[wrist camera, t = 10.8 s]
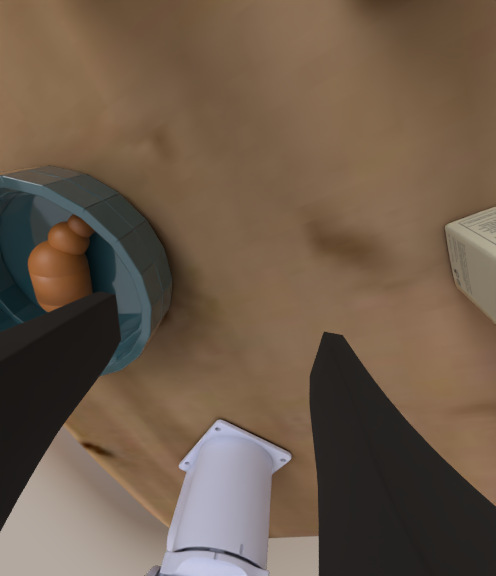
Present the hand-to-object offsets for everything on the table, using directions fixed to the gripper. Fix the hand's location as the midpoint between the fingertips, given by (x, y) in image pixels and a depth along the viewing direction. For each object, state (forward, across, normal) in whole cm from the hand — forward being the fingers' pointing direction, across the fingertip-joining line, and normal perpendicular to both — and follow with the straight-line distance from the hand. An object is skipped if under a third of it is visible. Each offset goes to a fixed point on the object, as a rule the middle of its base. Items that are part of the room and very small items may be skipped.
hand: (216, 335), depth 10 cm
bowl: (+9, +11, +4) cm, 15 cm away
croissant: (+9, +11, +4) cm, 15 cm away
